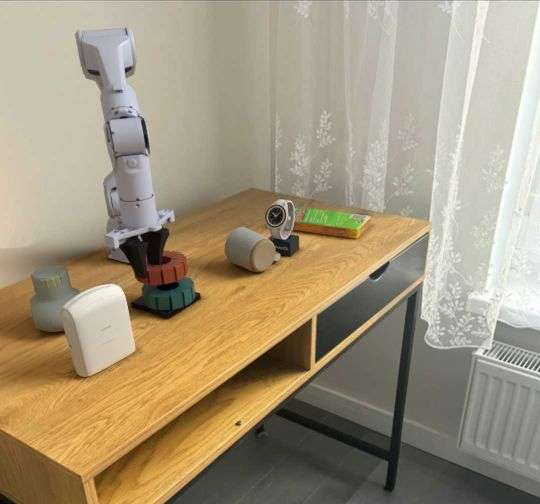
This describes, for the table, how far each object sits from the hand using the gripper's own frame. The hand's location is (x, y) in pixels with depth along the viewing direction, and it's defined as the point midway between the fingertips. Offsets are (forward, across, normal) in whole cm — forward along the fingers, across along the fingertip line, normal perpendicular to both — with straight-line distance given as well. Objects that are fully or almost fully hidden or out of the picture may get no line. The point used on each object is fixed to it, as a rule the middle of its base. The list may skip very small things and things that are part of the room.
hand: (148, 273), depth 106 cm
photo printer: (+8, -17, -5) cm, 19 cm away
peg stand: (+7, +3, 0) cm, 8 cm away
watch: (+8, +34, -6) cm, 36 cm away
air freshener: (+8, -12, +11) cm, 18 cm away
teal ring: (+6, +3, -1) cm, 7 cm away
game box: (+8, +51, -6) cm, 52 cm away
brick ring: (+1, +3, 0) cm, 3 cm away
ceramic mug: (+8, +25, -5) cm, 27 cm away
